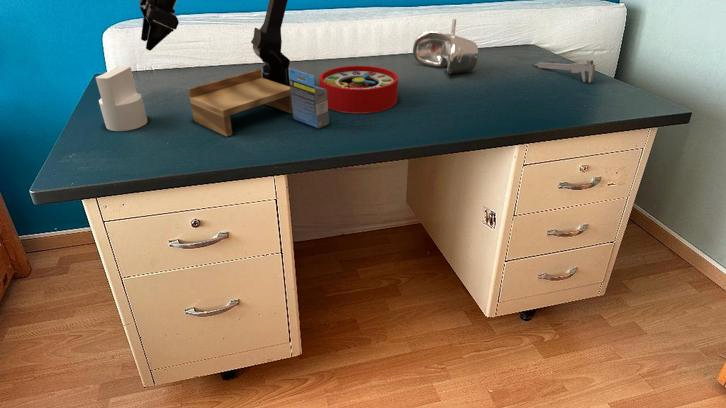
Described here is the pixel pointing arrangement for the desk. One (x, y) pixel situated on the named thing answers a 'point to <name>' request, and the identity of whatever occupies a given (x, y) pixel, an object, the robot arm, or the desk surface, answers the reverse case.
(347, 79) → the toy clock
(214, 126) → the shelf
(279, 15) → the robot arm
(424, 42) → the silver curved metal piece
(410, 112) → the desk surface
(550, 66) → the caliper
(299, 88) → the label tape box
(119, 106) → the cylinder with rectangular tab
